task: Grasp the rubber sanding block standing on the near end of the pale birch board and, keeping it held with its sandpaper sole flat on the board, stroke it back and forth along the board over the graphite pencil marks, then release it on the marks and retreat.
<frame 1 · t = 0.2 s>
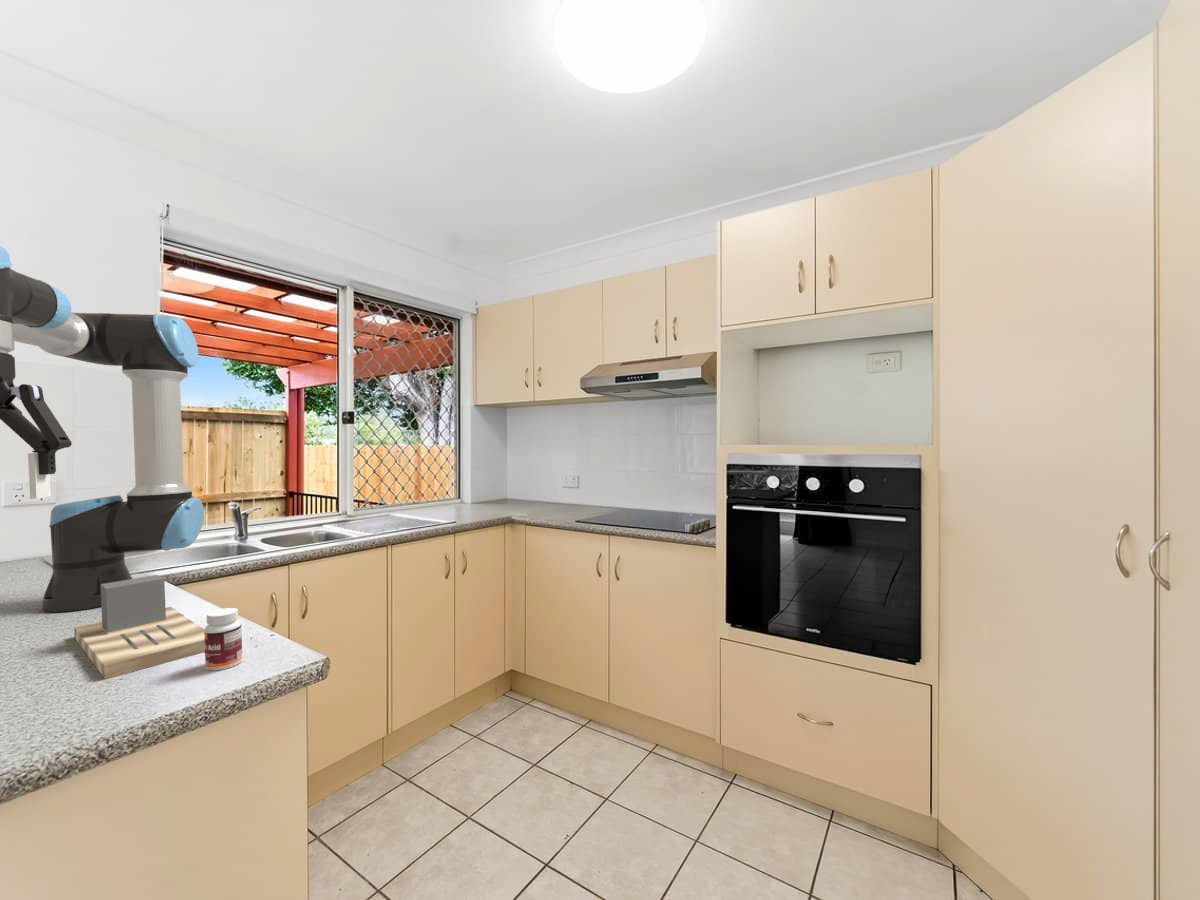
pill bottle: (224, 665, 83), on the countertop
board: (143, 643, 93), on the countertop
sanding block: (134, 624, 97), point 2 cm above the countertop, touching board
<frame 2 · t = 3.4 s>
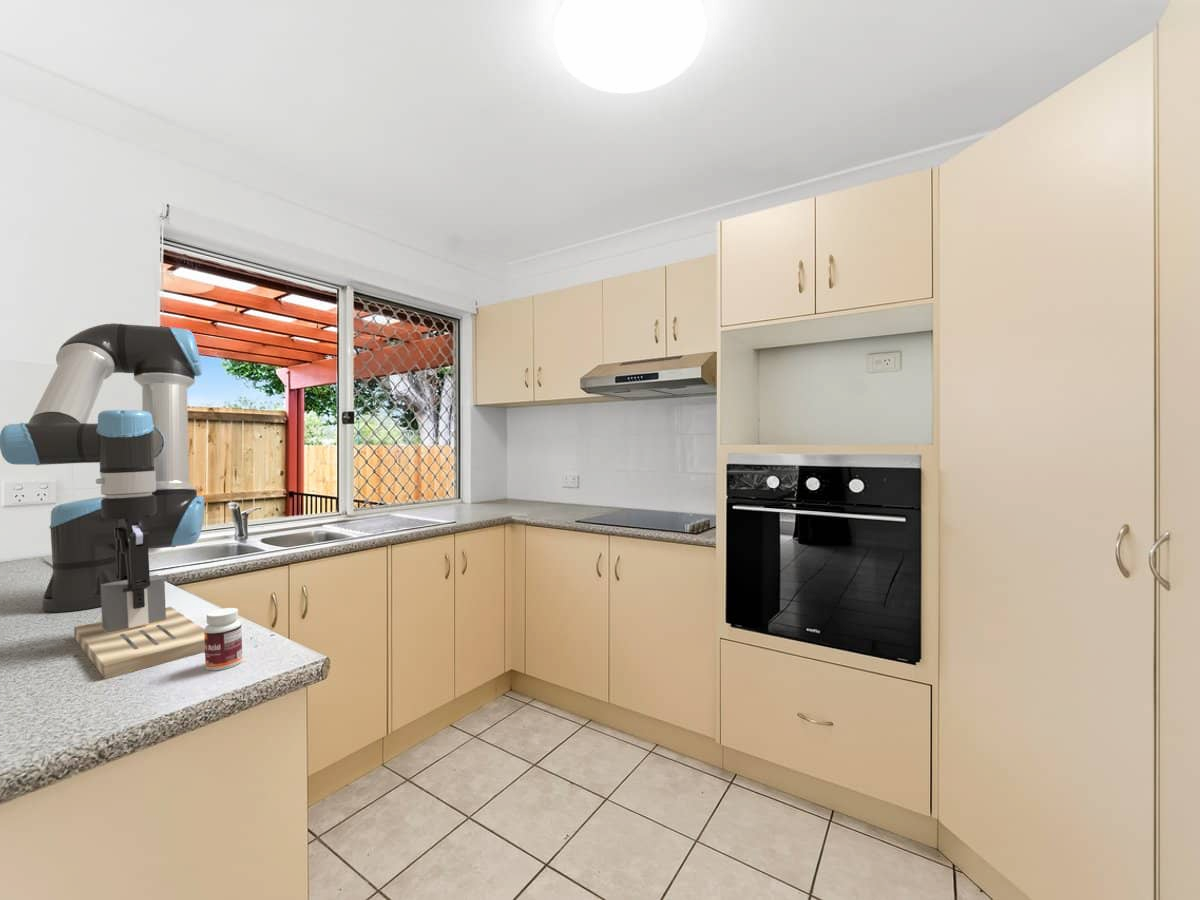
hand: (134, 621, 97), 3 cm above the countertop, fingers closed on sanding block, 5 cm apart
sanding block: (134, 624, 97), point 2 cm above the countertop, touching board, gripper
everything else where it was.
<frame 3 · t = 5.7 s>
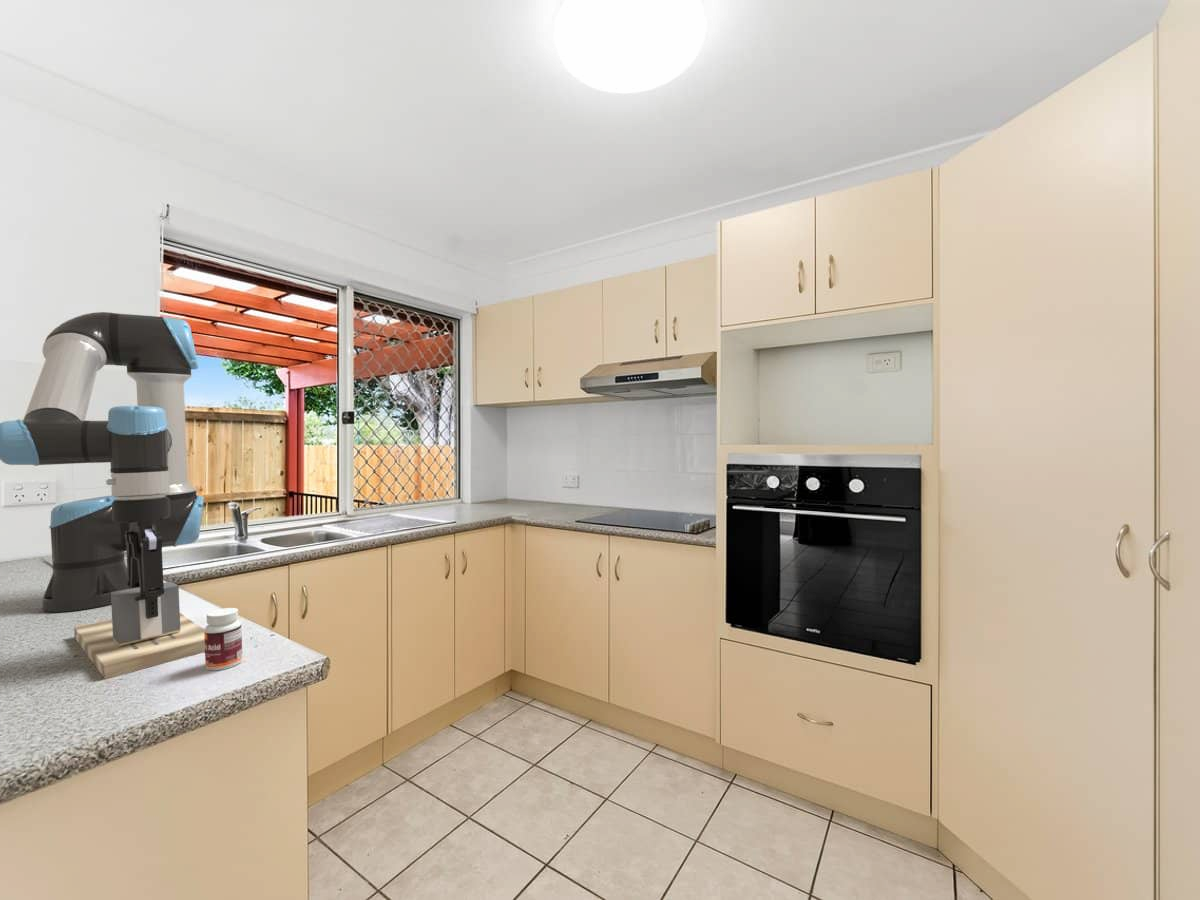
hand: (147, 632, 91), 3 cm above the countertop, fingers closed on sanding block, 5 cm apart
sanding block: (147, 635, 91), point 2 cm above the countertop, touching gripper
everything else where it was.
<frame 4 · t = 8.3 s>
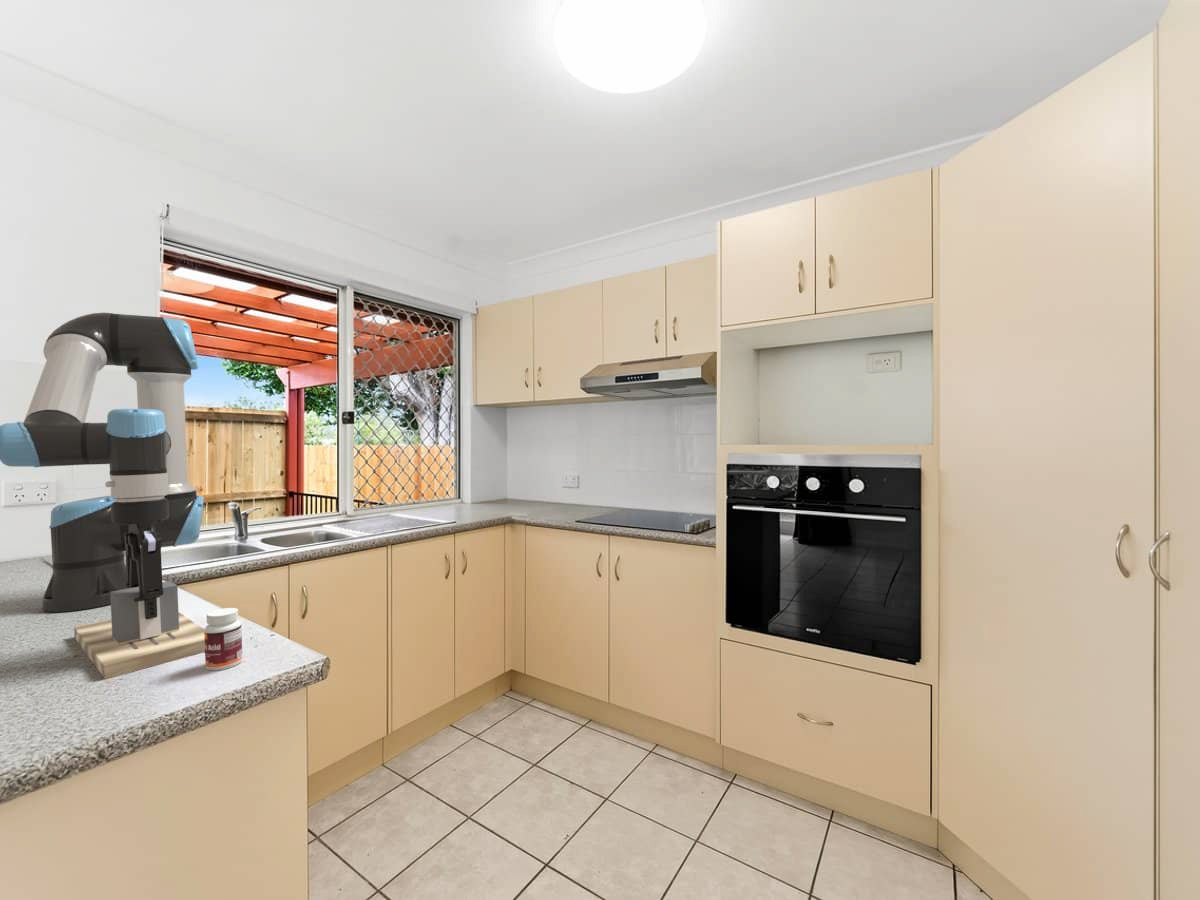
hand: (146, 632, 92), 2 cm above the countertop, fingers closed on sanding block, 5 cm apart
sanding block: (146, 634, 92), point 2 cm above the countertop, touching gripper
everything else where it was.
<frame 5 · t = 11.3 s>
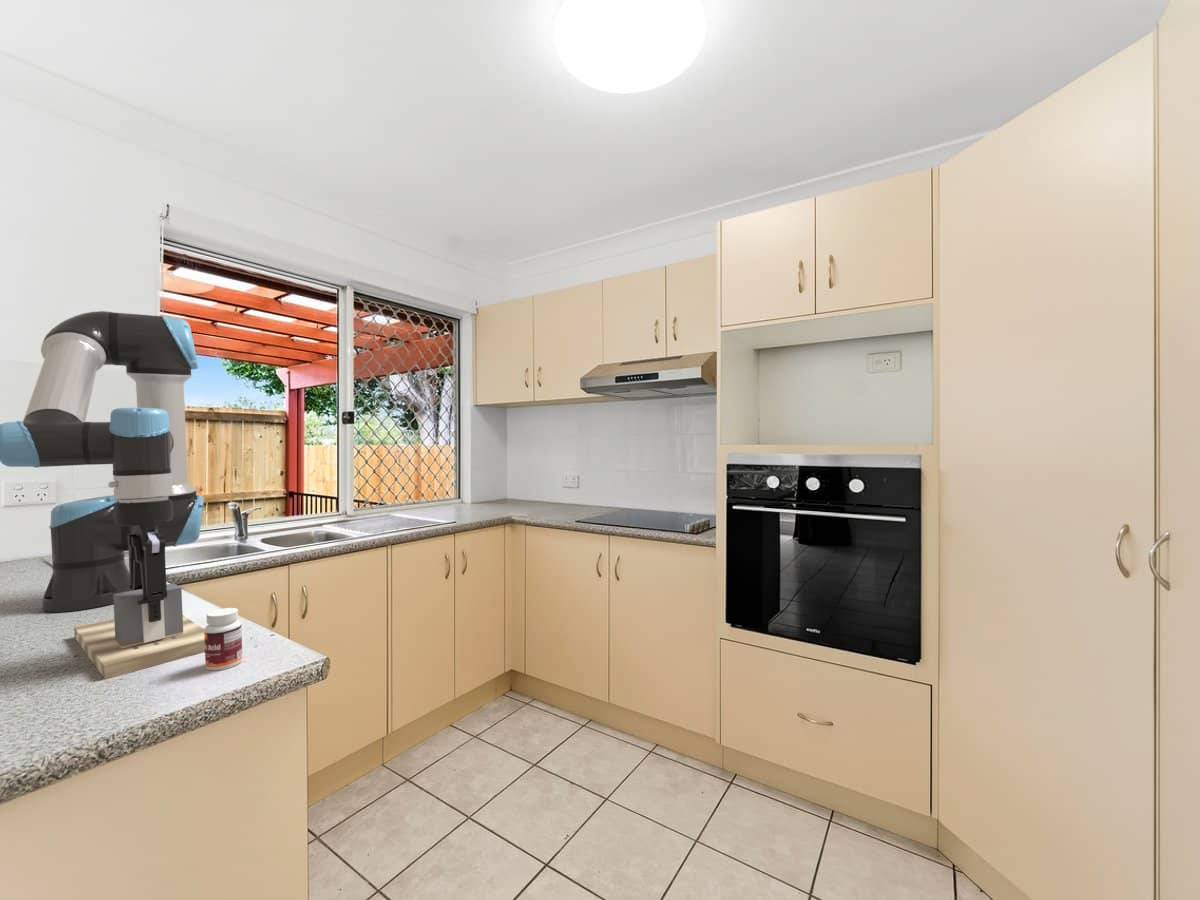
hand: (149, 635, 90), 2 cm above the countertop, fingers closed on sanding block, 5 cm apart
sanding block: (149, 637, 90), point 2 cm above the countertop, touching gripper
everything else where it was.
when the fingers open (3 cm above the countertop, at t = 13.6 s): sanding block stays where it is, resting on board.
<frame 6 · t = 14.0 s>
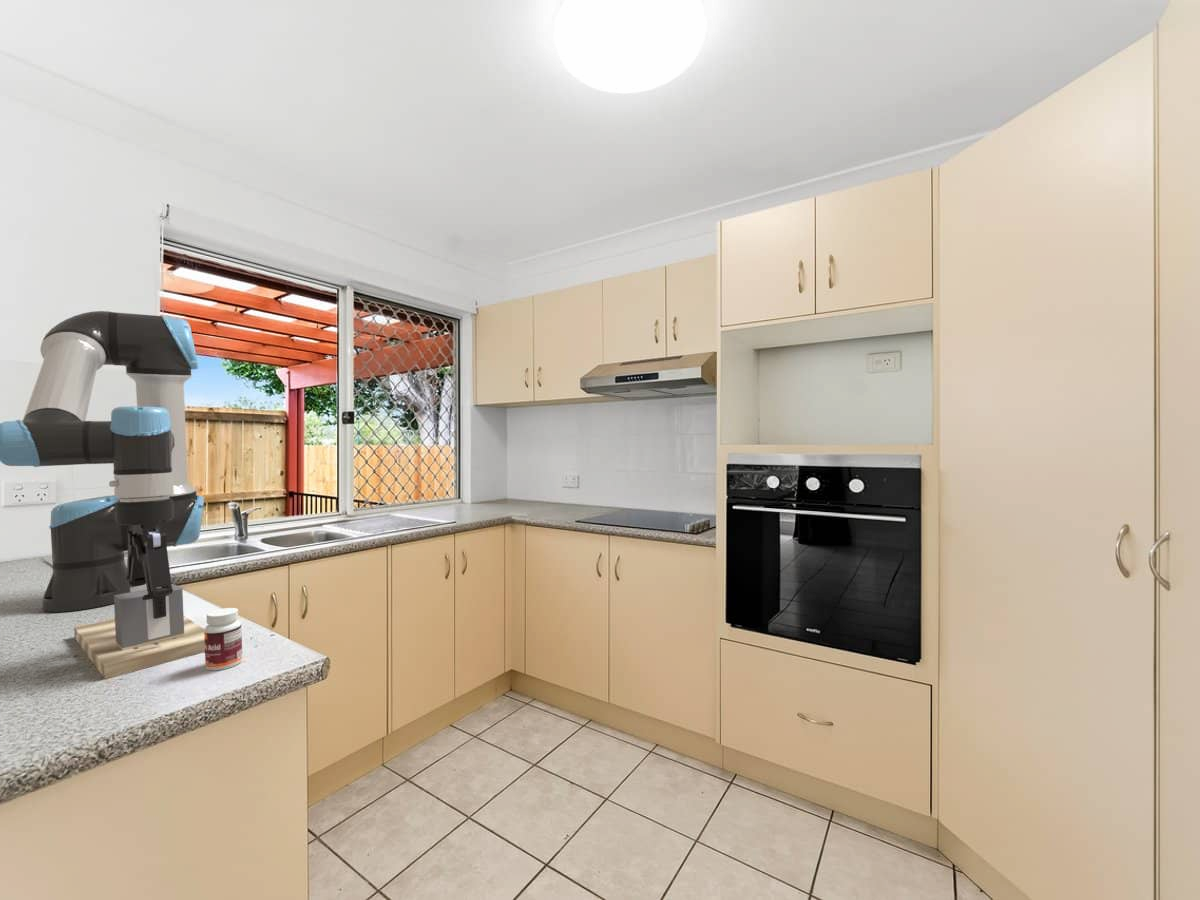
hand: (150, 629, 90), 4 cm above the countertop, fingers open, 10 cm apart
sanding block: (150, 639, 90), point 2 cm above the countertop, touching board
everything else where it was.
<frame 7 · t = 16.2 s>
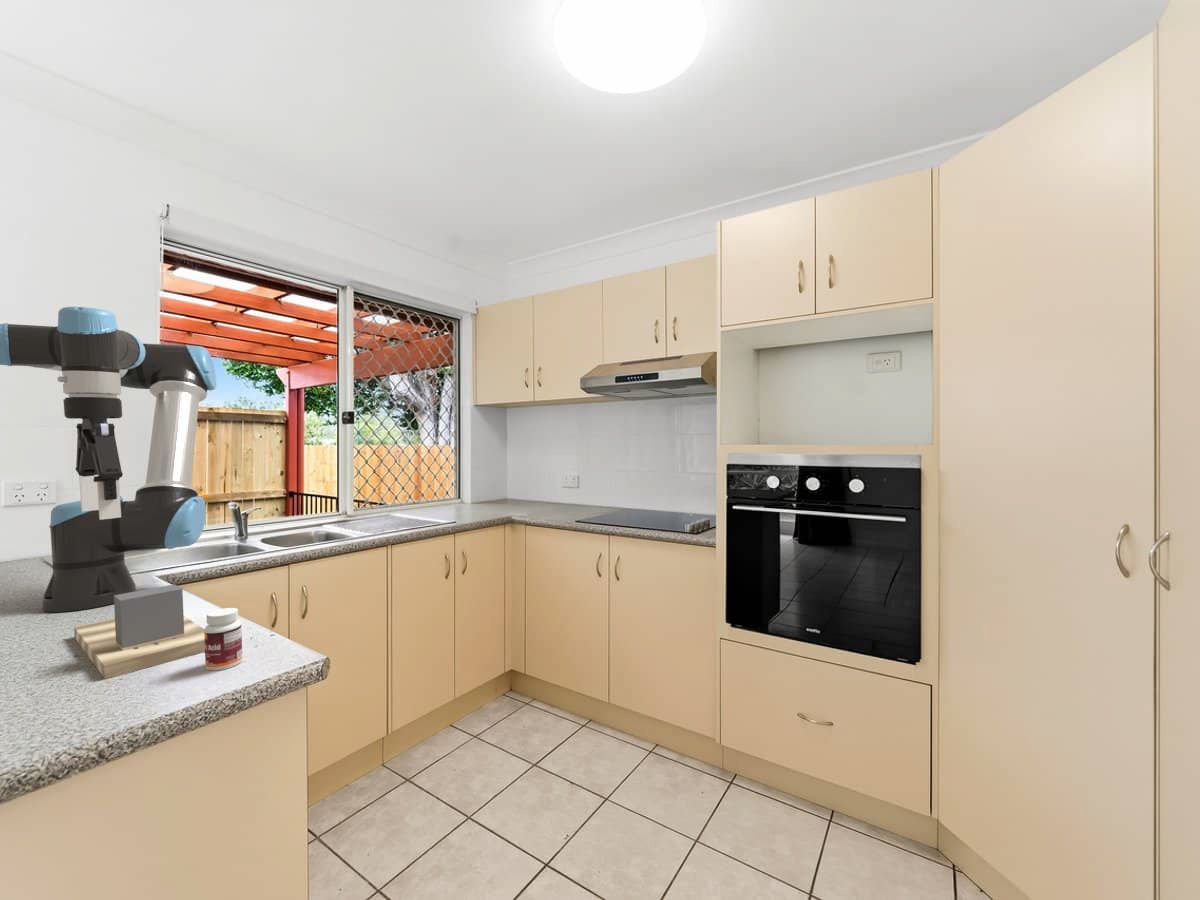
hand: (100, 514, 96), 22 cm above the countertop, fingers open, 13 cm apart
nothing on the countertop moved.
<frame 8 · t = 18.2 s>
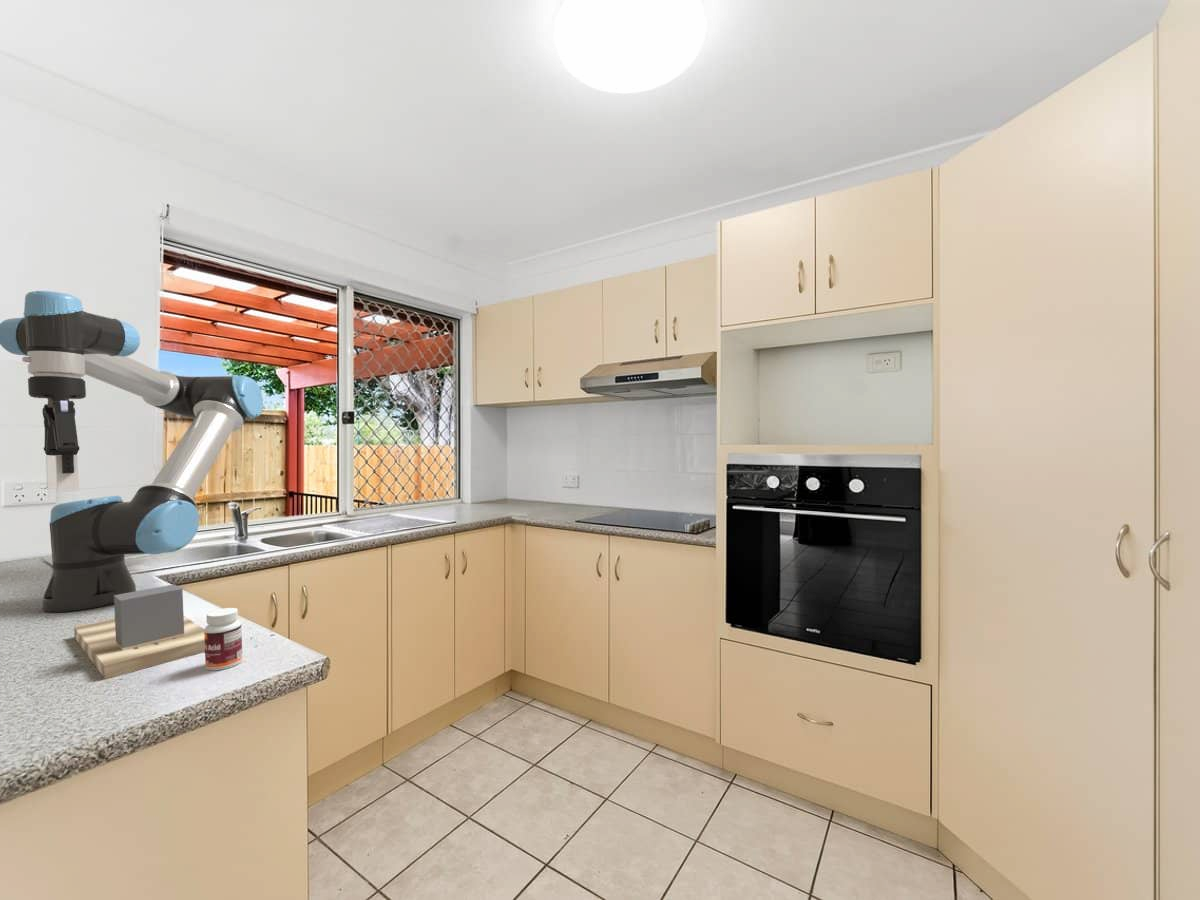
hand: (62, 490, 100), 27 cm above the countertop, fingers open, 13 cm apart
nothing on the countertop moved.
at the end: sanding block inside the target area on the board (1.3 cm from its centre), point 2.0 cm above the board's base; sanding block touching board; sanding block tilted 0° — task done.
